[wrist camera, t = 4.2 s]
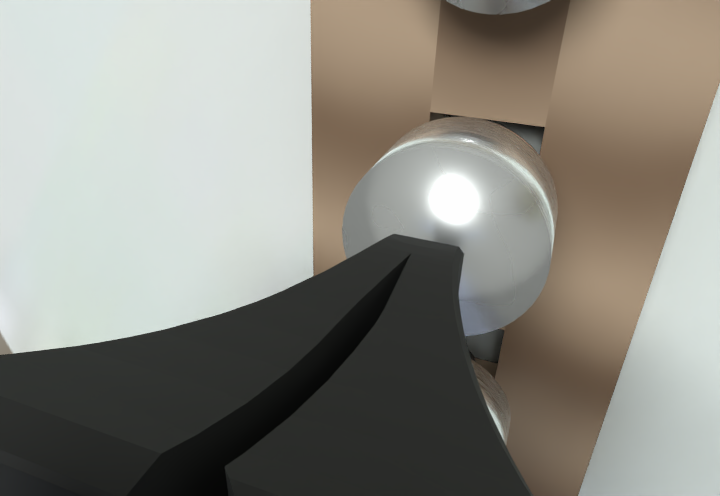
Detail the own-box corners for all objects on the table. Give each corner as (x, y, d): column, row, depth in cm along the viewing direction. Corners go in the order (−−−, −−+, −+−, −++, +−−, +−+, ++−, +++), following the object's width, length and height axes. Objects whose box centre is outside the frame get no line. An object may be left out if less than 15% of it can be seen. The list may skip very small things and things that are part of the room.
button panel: (568, 483, 22) (567, 528, 21) (333, 412, 25) (315, 446, 23) (909, -558, 9) (974, -662, 8) (344, -461, 12) (305, -522, 11)
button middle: (544, 264, 16) (529, 357, 12) (392, 233, 17) (340, 310, 13) (579, 107, 13) (573, 166, 10) (402, 86, 15) (343, 132, 11)
